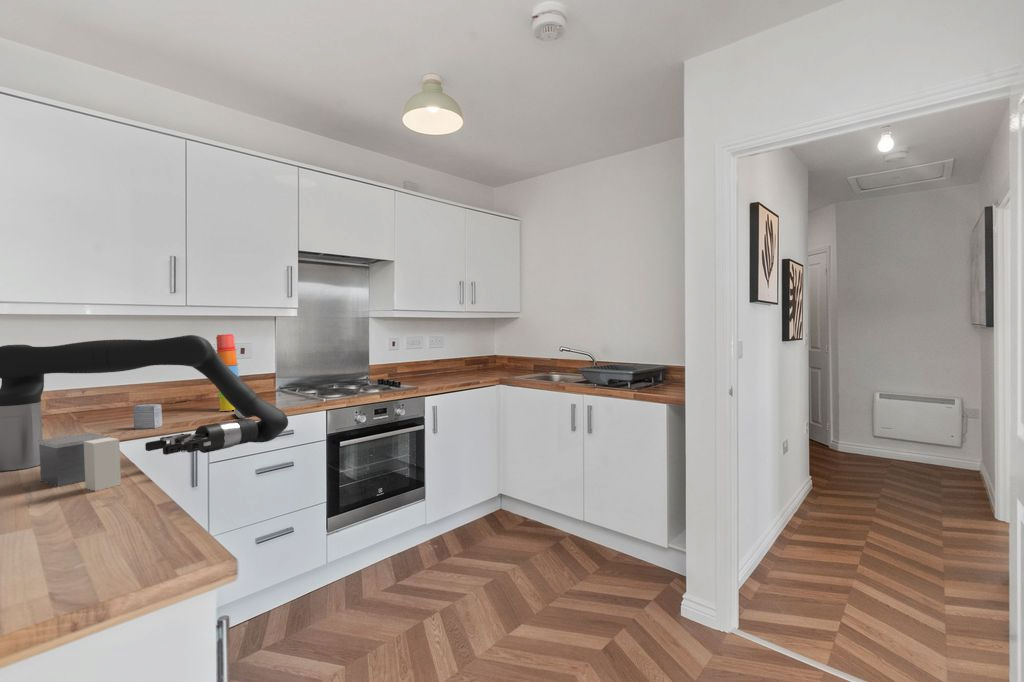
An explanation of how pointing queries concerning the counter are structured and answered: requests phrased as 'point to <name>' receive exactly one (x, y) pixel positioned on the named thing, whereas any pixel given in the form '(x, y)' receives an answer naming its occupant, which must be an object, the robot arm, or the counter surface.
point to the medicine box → (147, 416)
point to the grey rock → (238, 414)
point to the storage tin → (64, 458)
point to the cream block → (102, 463)
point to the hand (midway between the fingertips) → (154, 448)
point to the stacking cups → (227, 362)
